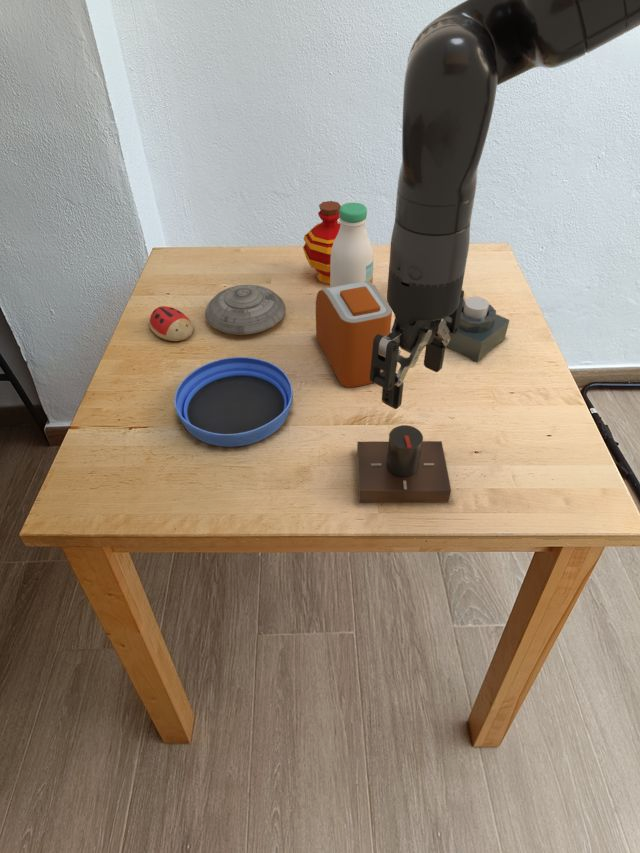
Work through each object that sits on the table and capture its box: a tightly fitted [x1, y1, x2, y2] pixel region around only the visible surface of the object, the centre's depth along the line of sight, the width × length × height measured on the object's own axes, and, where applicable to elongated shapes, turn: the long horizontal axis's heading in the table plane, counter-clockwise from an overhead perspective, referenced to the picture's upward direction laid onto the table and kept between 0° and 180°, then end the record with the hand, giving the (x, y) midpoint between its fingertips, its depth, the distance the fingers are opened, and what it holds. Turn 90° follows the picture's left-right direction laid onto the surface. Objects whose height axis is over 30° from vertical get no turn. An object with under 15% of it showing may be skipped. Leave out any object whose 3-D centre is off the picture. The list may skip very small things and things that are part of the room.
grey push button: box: [463, 296, 490, 319], centre depth 99 cm, size 4×4×2 cm
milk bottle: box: [329, 202, 374, 288], centre depth 104 cm, size 8×8×20 cm
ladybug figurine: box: [149, 305, 194, 342], centre depth 106 cm, size 7×10×4 cm
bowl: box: [173, 356, 294, 448], centre depth 90 cm, size 18×18×4 cm
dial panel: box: [356, 440, 452, 503], centre depth 80 cm, size 12×9×3 cm
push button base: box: [445, 300, 510, 363], centre depth 101 cm, size 9×9×6 cm
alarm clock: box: [315, 281, 393, 388], centre depth 95 cm, size 15×8×14 cm, turn 18°
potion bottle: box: [302, 200, 342, 285], centre depth 114 cm, size 10×10×15 cm
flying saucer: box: [204, 284, 287, 336], centre depth 108 cm, size 15×15×6 cm
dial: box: [386, 424, 424, 477], centre depth 78 cm, size 4×4×6 cm
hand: (412, 386), depth 69 cm, fingers open, 8 cm apart
